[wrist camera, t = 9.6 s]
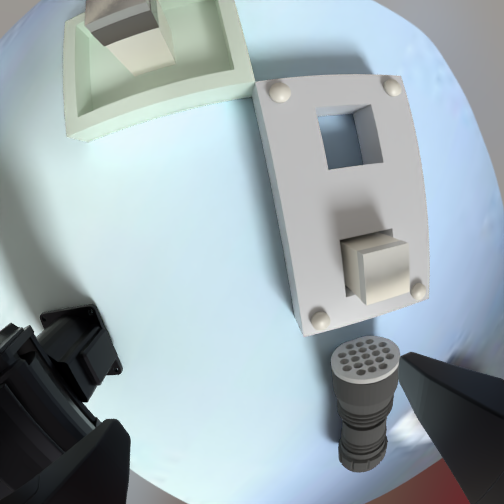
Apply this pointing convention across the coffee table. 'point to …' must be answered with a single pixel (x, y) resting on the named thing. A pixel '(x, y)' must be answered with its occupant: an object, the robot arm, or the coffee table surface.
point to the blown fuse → (132, 32)
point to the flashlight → (364, 398)
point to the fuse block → (342, 189)
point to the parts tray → (155, 71)
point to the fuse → (375, 266)
